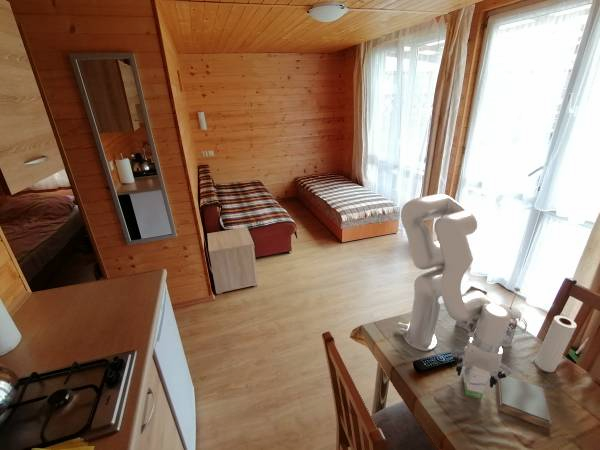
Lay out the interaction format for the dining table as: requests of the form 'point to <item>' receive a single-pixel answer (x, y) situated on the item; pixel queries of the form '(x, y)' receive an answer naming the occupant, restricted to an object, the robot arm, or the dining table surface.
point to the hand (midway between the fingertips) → (474, 378)
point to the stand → (523, 401)
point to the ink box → (475, 381)
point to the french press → (512, 322)
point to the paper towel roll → (555, 343)
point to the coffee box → (472, 322)
